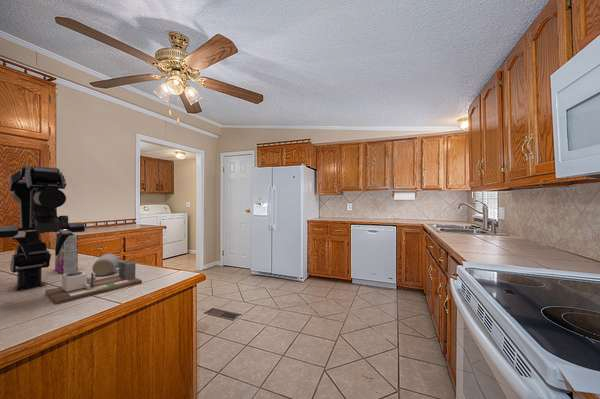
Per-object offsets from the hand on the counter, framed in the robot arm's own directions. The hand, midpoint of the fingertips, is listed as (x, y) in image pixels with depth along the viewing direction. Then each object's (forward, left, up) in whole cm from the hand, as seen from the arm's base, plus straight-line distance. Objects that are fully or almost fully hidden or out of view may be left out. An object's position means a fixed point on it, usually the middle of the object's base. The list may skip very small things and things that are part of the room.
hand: (42, 257), depth 75 cm
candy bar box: (-32, +12, -13) cm, 37 cm away
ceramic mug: (-15, +22, -13) cm, 30 cm away
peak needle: (+6, +11, -11) cm, 17 cm away
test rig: (+2, +13, -13) cm, 18 cm away
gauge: (+2, +9, -12) cm, 15 cm away
